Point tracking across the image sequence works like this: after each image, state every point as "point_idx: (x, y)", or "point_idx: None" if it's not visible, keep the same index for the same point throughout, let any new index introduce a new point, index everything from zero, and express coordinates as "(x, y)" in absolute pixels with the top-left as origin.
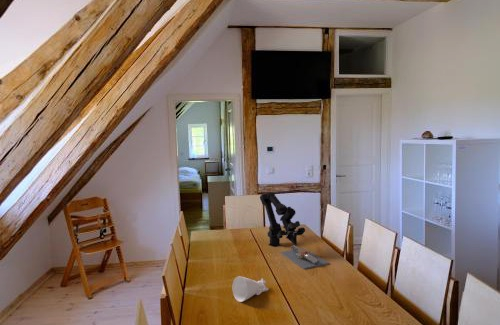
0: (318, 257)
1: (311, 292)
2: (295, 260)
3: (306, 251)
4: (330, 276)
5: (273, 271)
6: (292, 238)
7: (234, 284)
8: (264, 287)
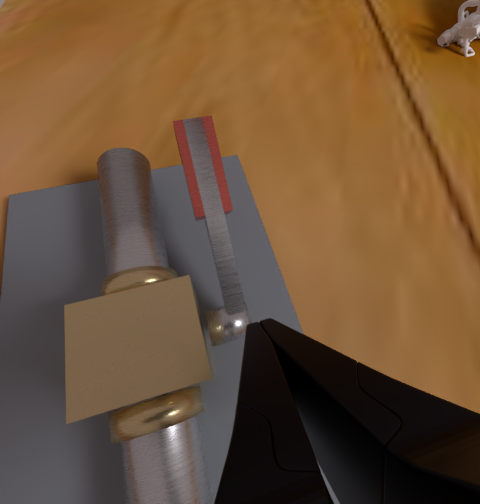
0: (18, 313)
1: (271, 10)
2: (266, 281)
3: (183, 120)
4: (127, 78)
5: (434, 174)
6: (390, 382)
7: None
8: (461, 28)
